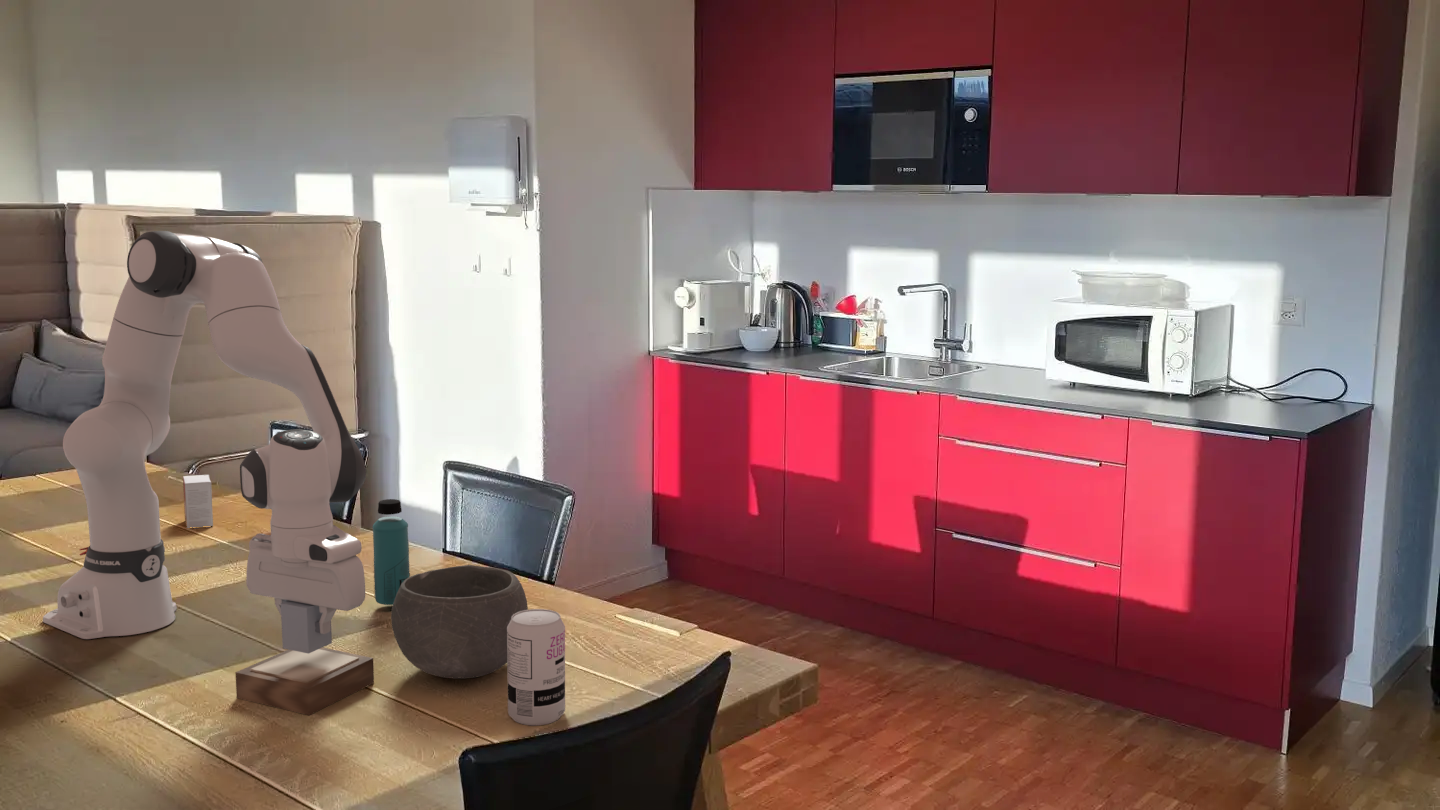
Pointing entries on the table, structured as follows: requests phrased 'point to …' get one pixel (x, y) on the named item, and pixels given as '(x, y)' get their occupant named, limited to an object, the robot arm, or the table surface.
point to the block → (302, 627)
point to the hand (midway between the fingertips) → (306, 629)
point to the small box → (197, 501)
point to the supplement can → (536, 667)
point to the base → (304, 679)
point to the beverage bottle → (390, 552)
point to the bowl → (457, 619)
